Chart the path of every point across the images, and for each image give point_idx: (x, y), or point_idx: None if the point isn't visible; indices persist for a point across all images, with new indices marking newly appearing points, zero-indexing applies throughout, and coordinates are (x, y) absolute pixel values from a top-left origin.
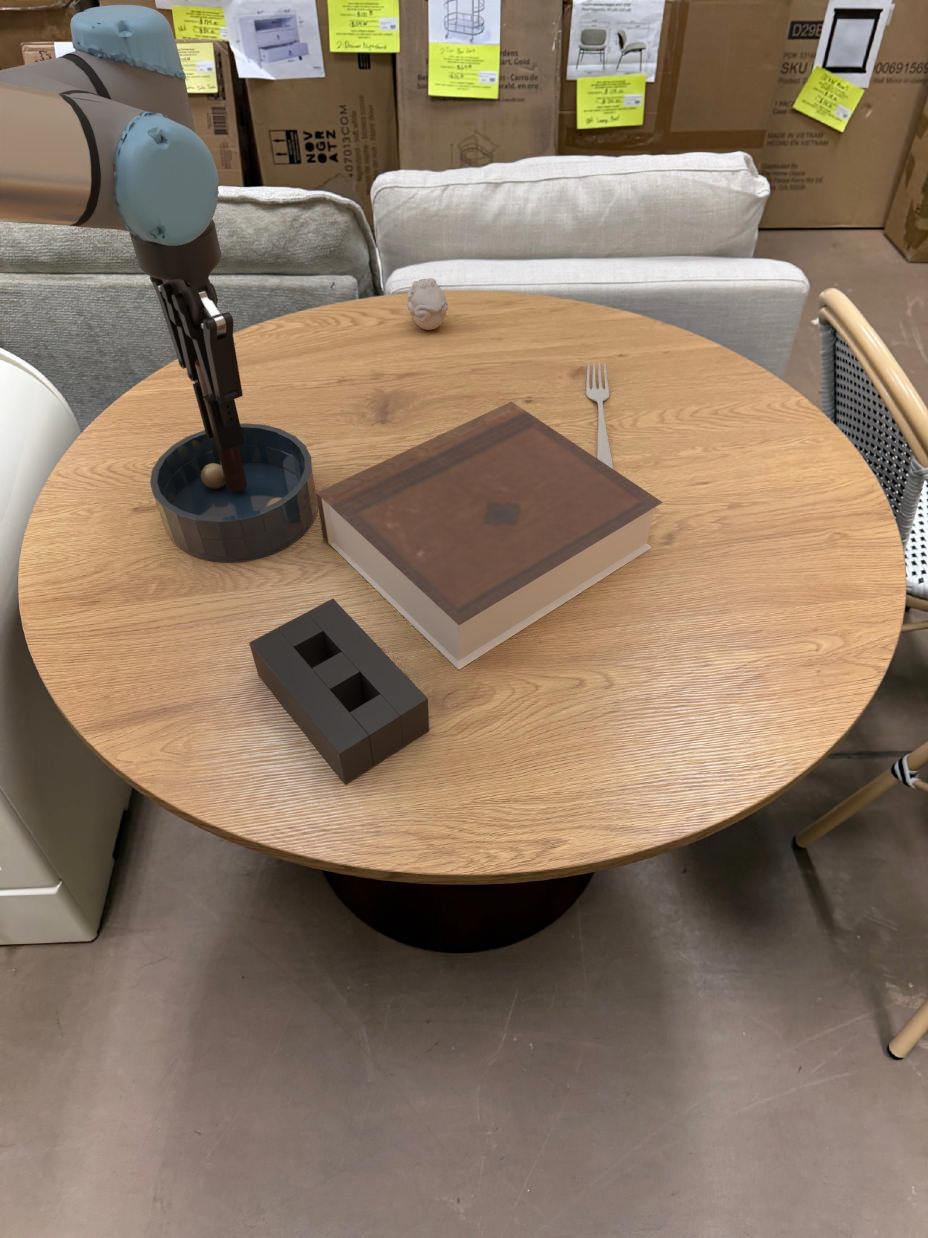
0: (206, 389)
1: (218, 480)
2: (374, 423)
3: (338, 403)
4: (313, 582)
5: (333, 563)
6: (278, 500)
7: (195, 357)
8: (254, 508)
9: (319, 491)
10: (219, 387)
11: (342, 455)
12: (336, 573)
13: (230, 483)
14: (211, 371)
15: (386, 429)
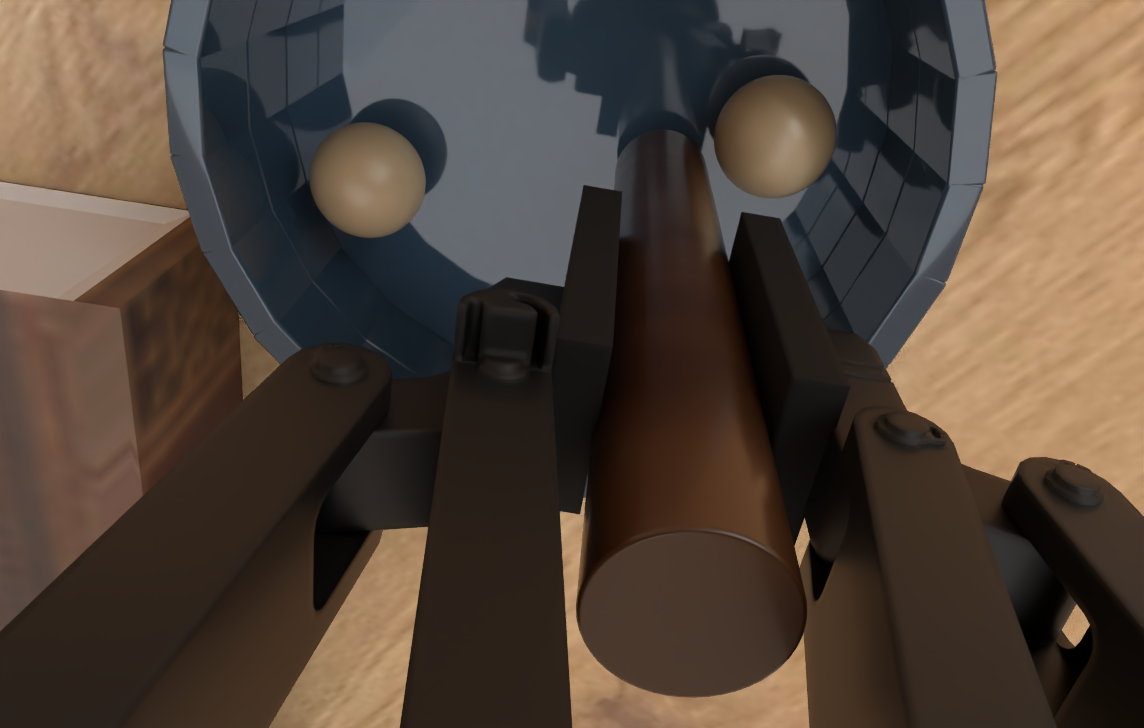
0: (639, 400)
1: (719, 126)
2: (623, 689)
3: (801, 695)
4: (38, 30)
5: (93, 153)
6: (350, 203)
7: (851, 599)
8: (523, 141)
9: (119, 323)
10: (210, 442)
11: (568, 538)
12: (39, 124)
13: (639, 144)
14: (230, 541)
15: (570, 689)
